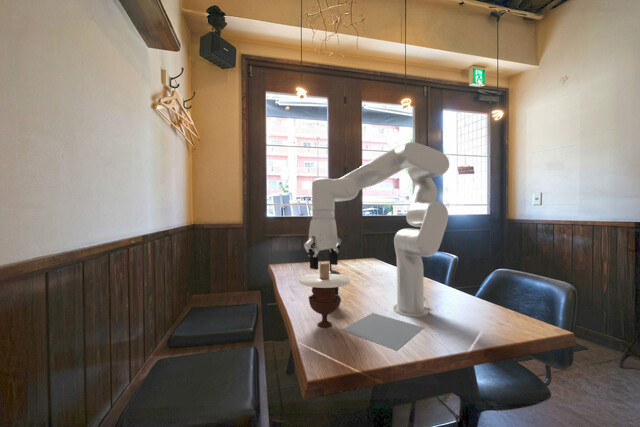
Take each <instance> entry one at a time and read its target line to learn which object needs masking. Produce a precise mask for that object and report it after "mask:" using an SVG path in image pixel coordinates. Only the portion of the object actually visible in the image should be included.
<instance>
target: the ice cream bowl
mask: <svg viewBox="0 0 640 427" xmlns="http://www.w3.org/2000/svg"><path fill="white" fill-rule="evenodd" d="M311 293H312V294H311V295H309V296H308V297H307V298H308V303H309V306H310V308H311V309H312V310H313V311H314V312H315V313H317V314H319V315H321V316H322V317H321V320H320V321H318V323H317V324H316V326H317V327H318V328H320V329H328V328H331V327H332V326H334V325H333V323H332V322H330V321H329V320H328V315H330V314H332V313H334V312H335V311H336V310H337V309H338V308H339V307H340V305H341V302H342V298H341V296H340V295H339V294H338V295H336V294H335V289H334V288H316V287H311Z"/></svg>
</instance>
